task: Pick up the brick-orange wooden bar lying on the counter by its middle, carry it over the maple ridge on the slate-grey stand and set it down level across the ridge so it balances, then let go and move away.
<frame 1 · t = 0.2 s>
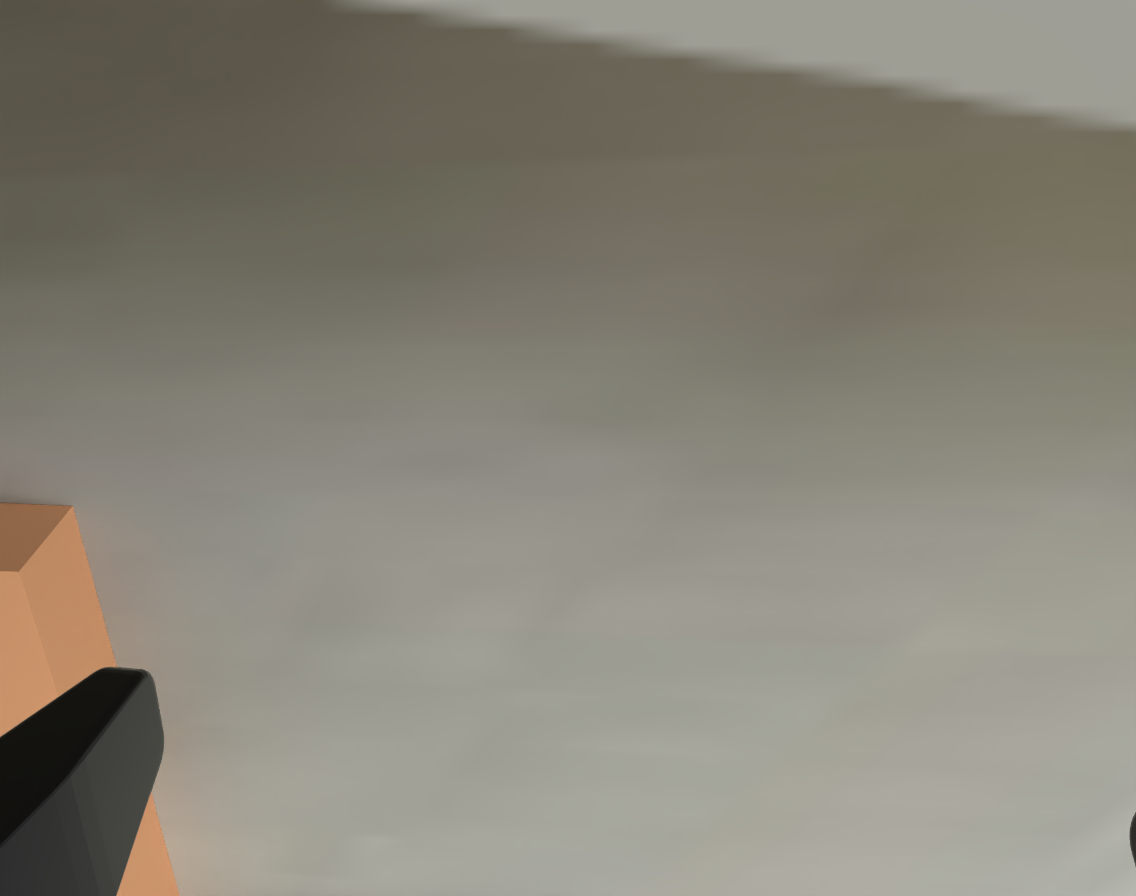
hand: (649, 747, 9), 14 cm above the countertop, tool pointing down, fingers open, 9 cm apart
bar: (97, 748, 31), on the countertop
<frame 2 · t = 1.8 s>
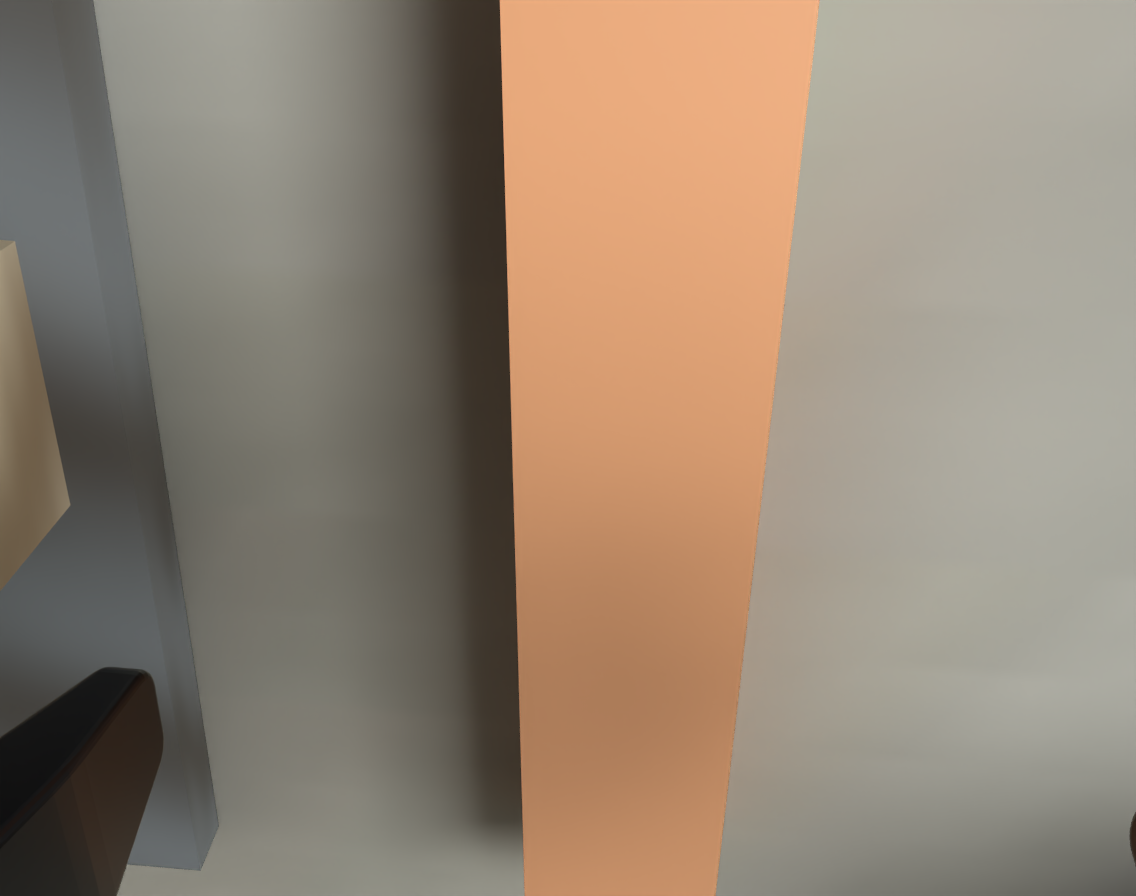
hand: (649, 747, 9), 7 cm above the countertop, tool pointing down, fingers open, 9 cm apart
bar: (634, 384, 15), on the countertop
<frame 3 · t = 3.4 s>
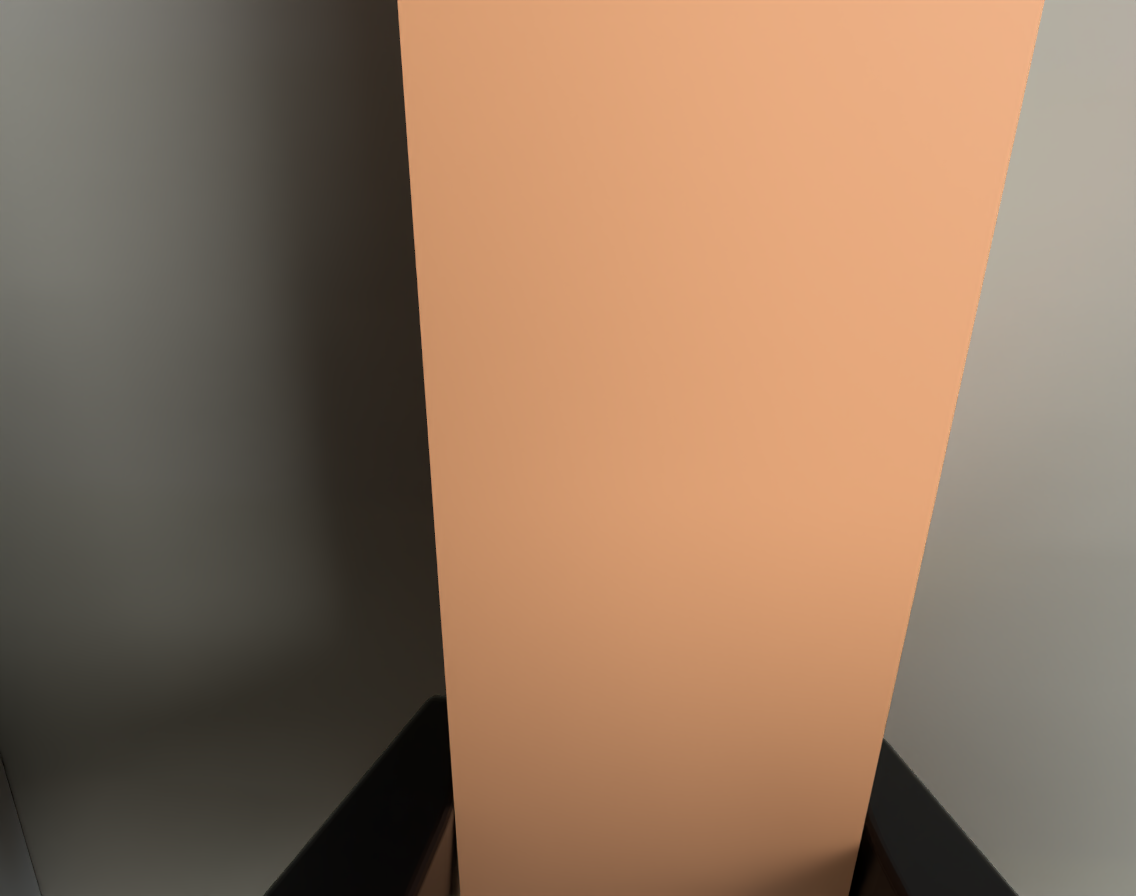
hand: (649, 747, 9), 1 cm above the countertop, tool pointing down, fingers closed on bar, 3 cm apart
bar: (646, 630, 11), on the countertop, touching gripper
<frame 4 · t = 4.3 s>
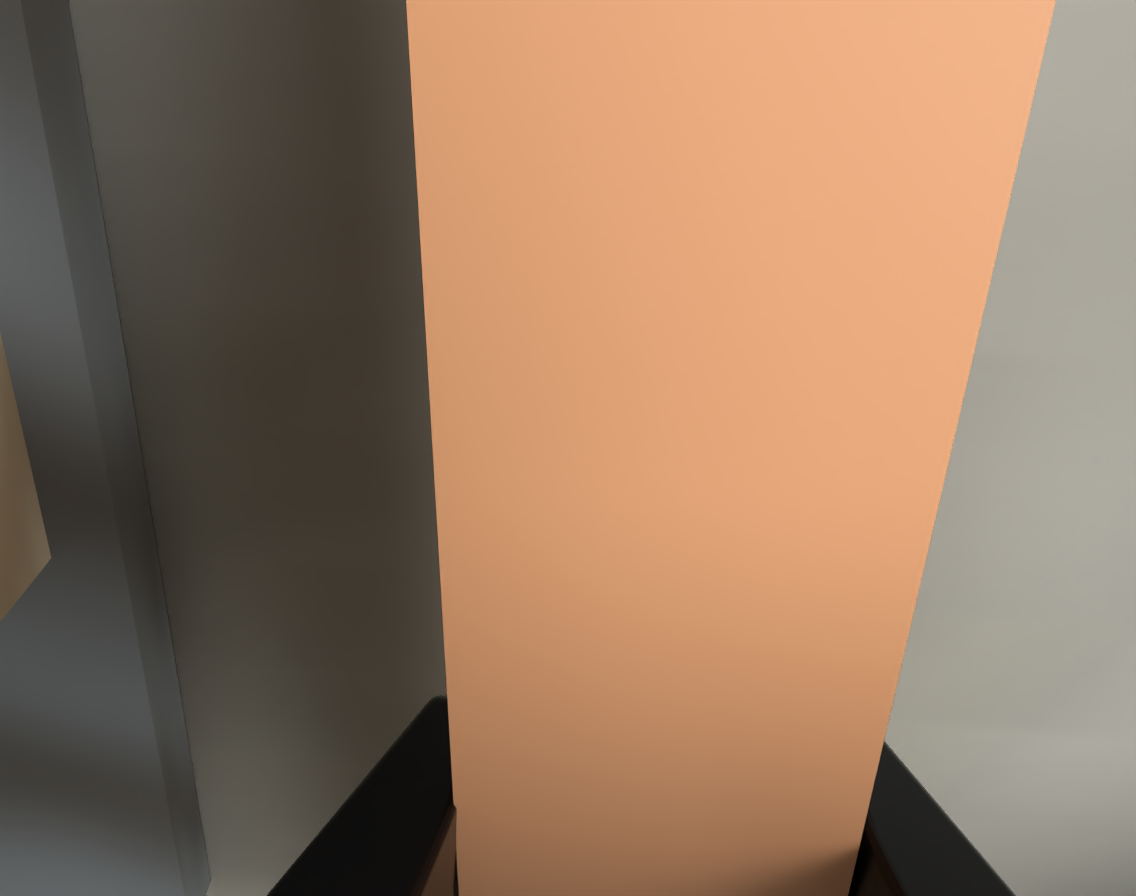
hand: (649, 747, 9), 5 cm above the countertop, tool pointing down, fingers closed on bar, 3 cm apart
bar: (647, 629, 11), point 4 cm above the countertop, touching gripper
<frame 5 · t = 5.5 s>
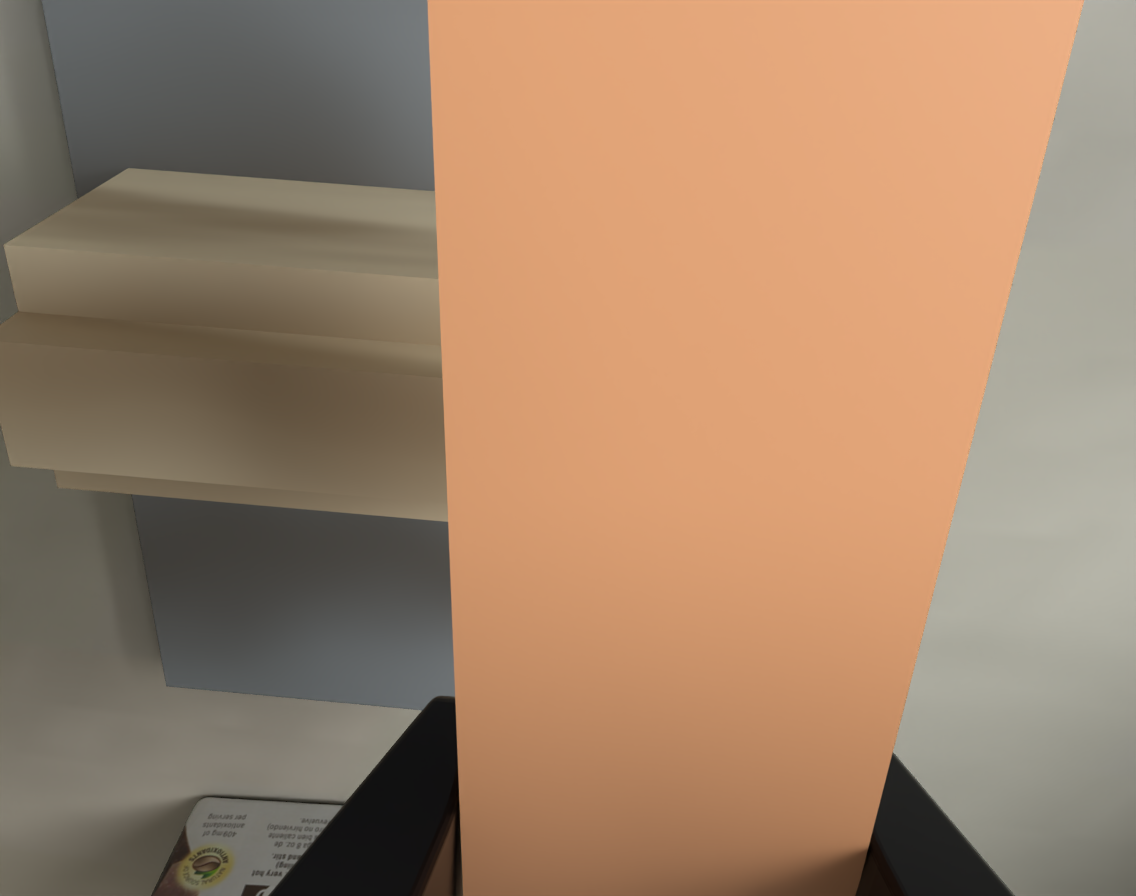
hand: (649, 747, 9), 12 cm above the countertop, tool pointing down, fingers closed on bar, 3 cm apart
bar: (651, 631, 11), point 10 cm above the countertop, touching gripper
ridge: (428, 279, 20), on the countertop
when the fingers open (8 cm above the countertop, at t = 7.1 s): bar stays where it is, resting on ridge.
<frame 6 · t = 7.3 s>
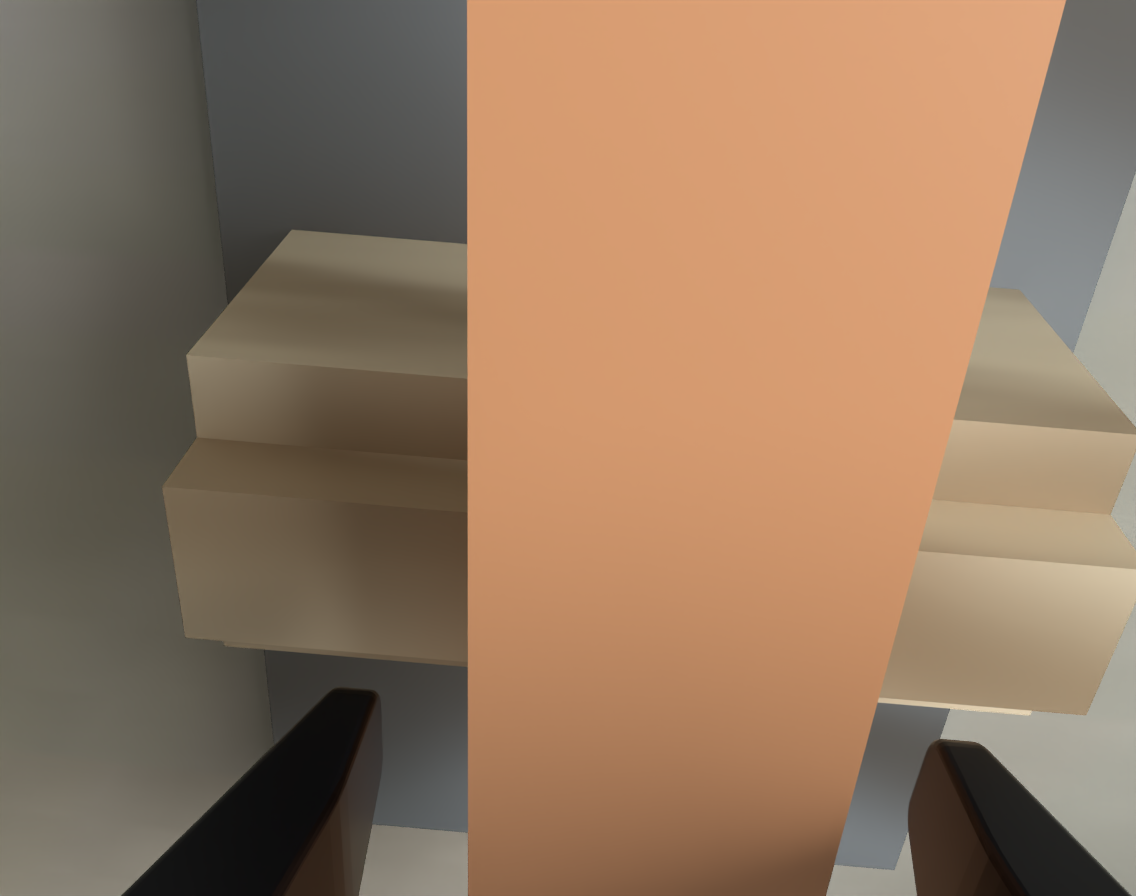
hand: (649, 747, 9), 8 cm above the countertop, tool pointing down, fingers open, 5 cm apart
bar: (647, 600, 11), point 6 cm above the countertop, touching ridge
ridge: (639, 359, 16), on the countertop
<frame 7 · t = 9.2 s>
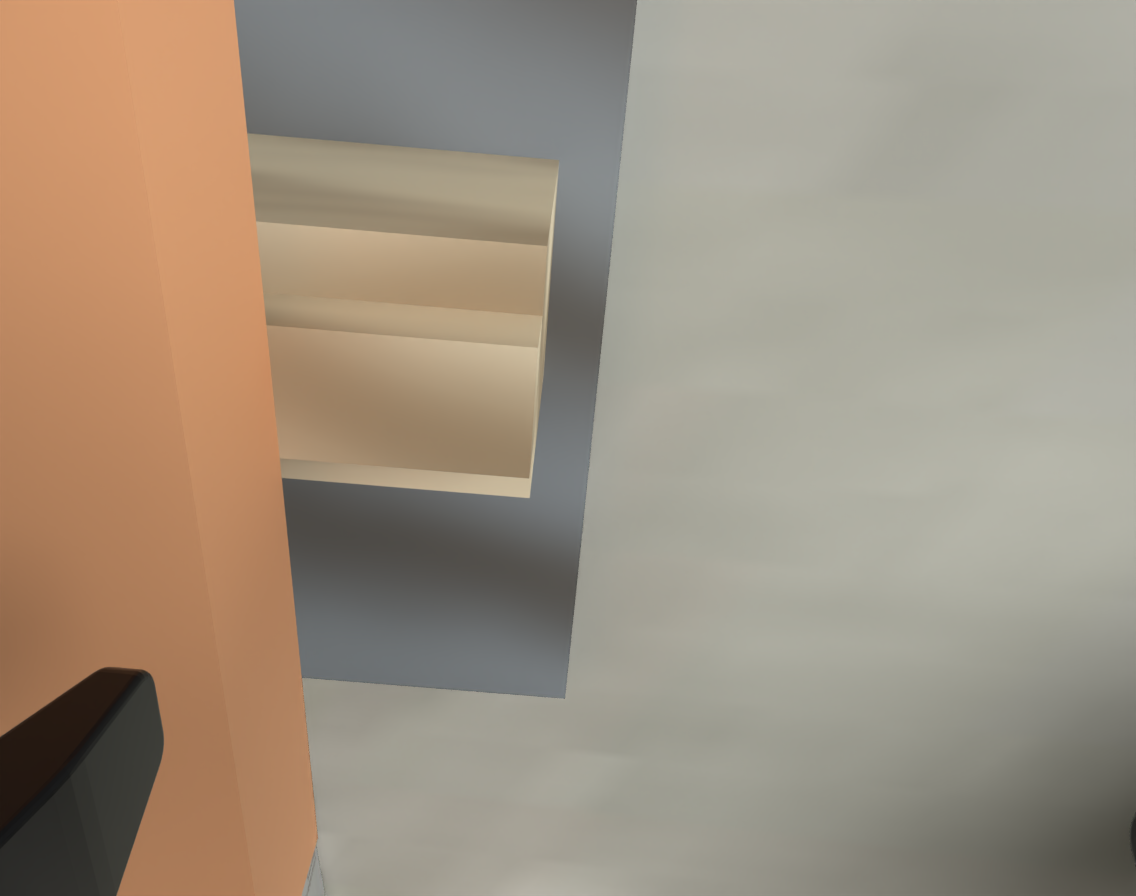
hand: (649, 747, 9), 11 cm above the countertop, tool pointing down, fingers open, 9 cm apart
coffee box: (217, 877, 29), on the countertop
bar: (159, 379, 14), point 6 cm above the countertop, touching ridge
ridge: (278, 230, 19), on the countertop
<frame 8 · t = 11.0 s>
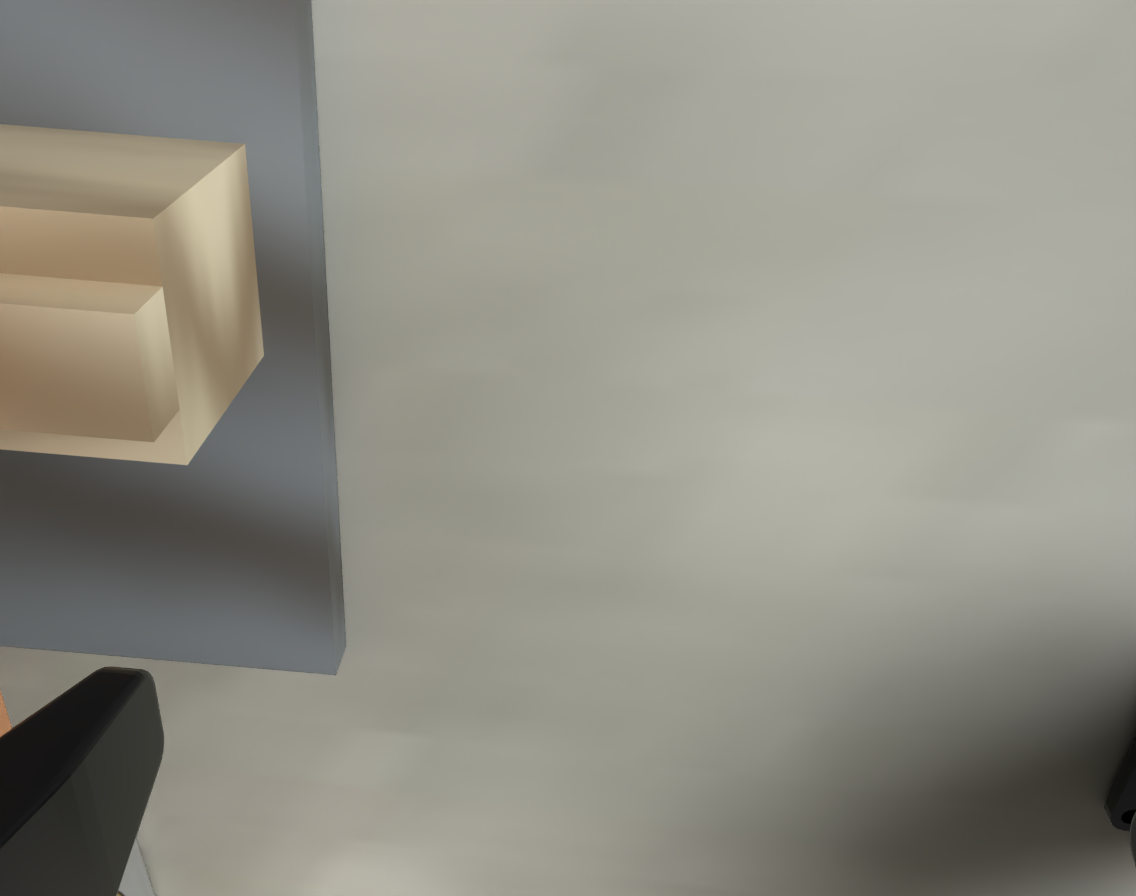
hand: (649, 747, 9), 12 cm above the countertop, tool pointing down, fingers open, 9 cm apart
coffee box: (45, 855, 30), on the countertop
ridge: (8, 215, 20), on the countertop
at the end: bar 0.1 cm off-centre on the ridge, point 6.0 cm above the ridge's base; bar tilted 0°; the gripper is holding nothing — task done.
